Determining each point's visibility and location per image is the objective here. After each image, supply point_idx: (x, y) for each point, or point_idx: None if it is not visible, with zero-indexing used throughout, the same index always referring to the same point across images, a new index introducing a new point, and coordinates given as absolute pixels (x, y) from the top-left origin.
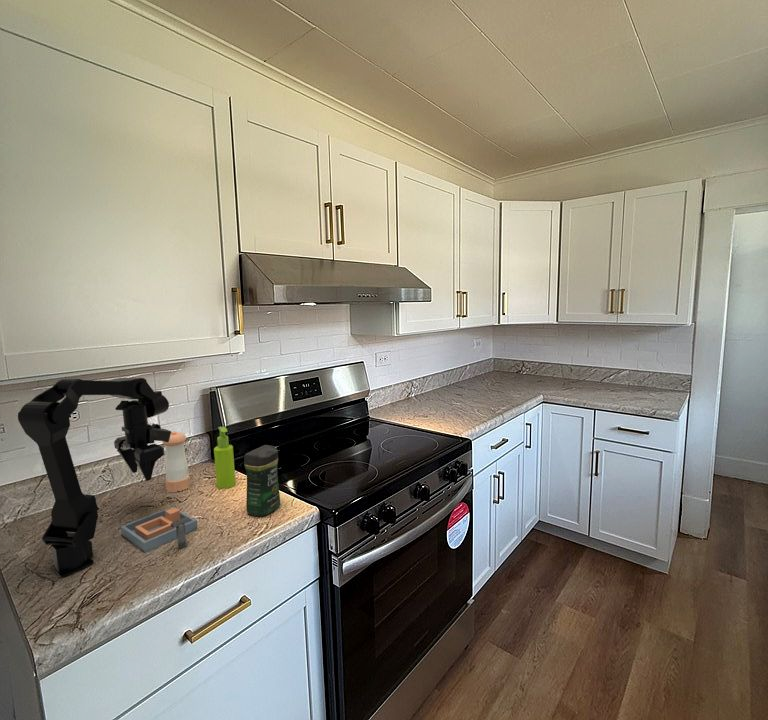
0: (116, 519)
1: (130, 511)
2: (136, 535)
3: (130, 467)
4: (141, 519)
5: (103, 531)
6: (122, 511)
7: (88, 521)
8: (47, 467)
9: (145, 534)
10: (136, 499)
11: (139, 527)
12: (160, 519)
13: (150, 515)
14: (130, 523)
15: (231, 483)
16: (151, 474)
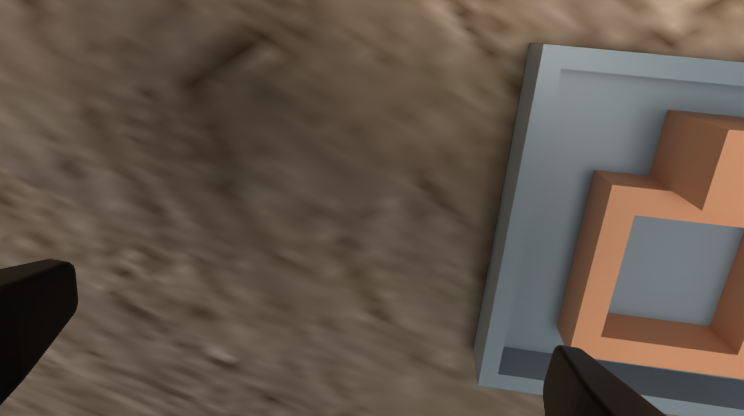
0: (249, 264)
1: (209, 167)
2: (685, 406)
3: (2, 393)
4: (515, 283)
5: (334, 364)
6: (166, 192)
7: None
8: None
9: (728, 374)
10: (45, 41)
11: (609, 347)
12: (640, 214)
13: (520, 222)
14: (498, 342)
15: None
16: (647, 411)
